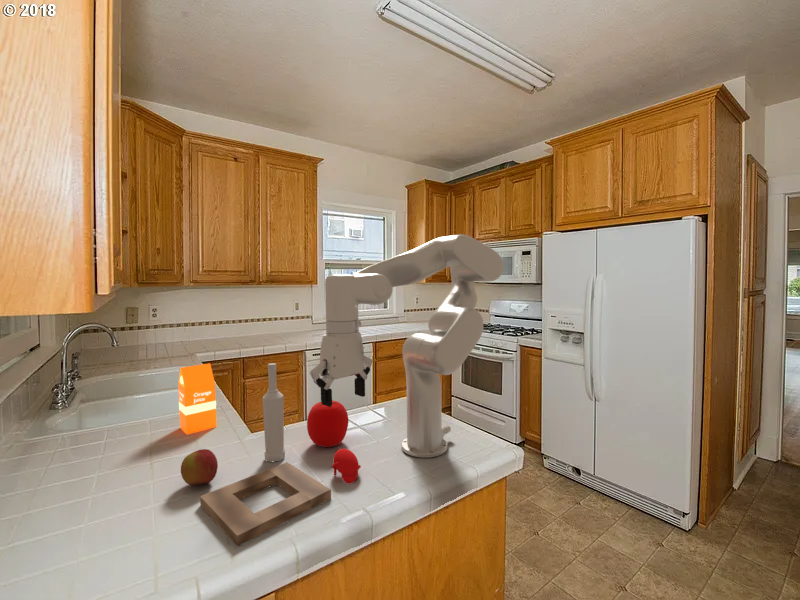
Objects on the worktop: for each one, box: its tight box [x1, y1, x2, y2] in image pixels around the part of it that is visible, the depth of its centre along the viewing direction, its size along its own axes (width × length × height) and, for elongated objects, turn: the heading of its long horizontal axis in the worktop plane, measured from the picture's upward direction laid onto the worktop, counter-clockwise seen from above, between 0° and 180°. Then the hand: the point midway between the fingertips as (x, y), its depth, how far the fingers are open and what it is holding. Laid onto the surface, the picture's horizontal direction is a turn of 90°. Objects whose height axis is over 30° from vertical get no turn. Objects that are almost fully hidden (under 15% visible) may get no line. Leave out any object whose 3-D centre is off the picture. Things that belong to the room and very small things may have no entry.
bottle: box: [262, 362, 286, 462], centre depth 100 cm, size 5×5×25 cm
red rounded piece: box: [331, 448, 362, 485], centre depth 91 cm, size 8×6×6 cm
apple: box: [180, 448, 219, 486], centre depth 88 cm, size 8×8×8 cm
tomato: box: [306, 400, 349, 448], centre depth 109 cm, size 12×12×13 cm
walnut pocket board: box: [199, 461, 332, 547], centre depth 81 cm, size 20×18×2 cm
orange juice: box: [177, 363, 218, 435], centre depth 122 cm, size 8×9×20 cm
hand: (344, 400), depth 90 cm, fingers open, 9 cm apart
